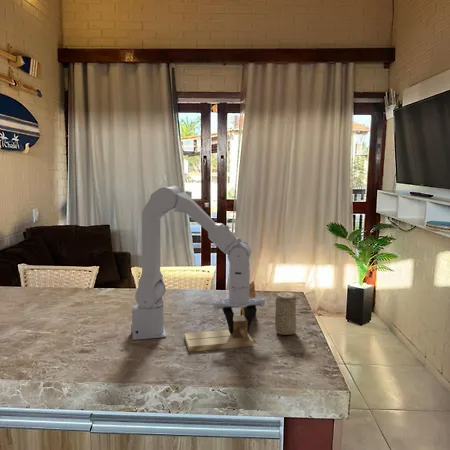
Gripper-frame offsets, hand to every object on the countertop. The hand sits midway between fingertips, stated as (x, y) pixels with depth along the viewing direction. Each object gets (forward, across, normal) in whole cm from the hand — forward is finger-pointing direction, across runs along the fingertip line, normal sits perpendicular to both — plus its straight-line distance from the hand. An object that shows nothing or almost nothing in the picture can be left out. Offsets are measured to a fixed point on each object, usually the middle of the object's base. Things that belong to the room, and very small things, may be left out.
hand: (238, 331), depth 121 cm
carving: (+3, +15, +2) cm, 15 cm away
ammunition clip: (+3, +7, +14) cm, 16 cm away
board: (+3, -6, 0) cm, 7 cm away
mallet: (+1, 0, -3) cm, 3 cm away
